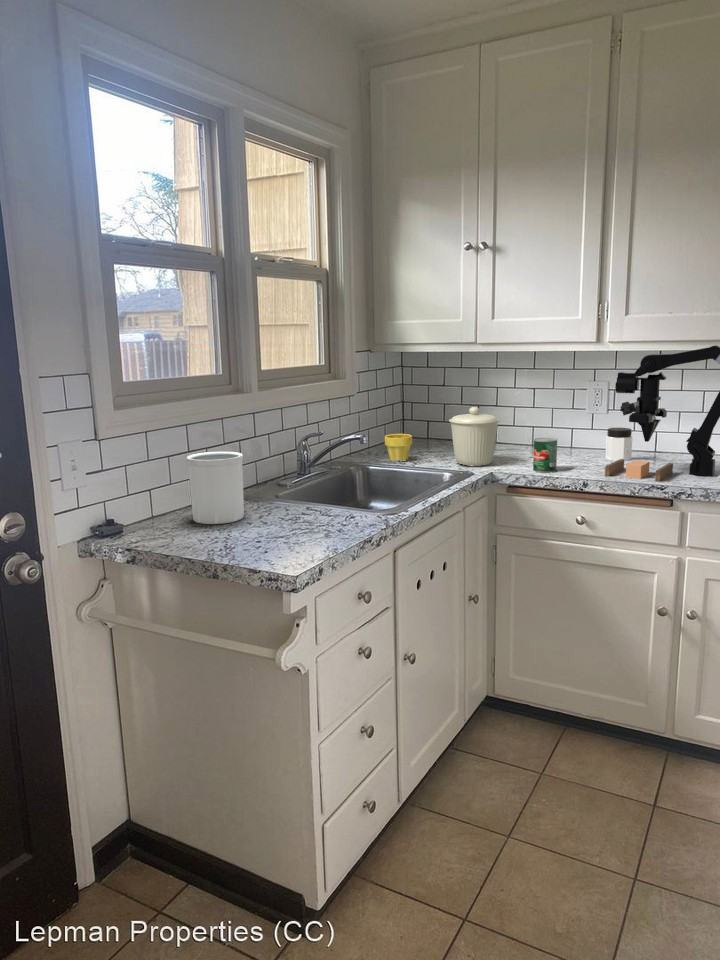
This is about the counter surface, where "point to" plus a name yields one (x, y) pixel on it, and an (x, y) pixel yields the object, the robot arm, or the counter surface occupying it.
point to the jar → (618, 444)
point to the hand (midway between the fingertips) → (646, 441)
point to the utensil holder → (216, 487)
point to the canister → (474, 437)
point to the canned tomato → (545, 455)
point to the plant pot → (398, 446)
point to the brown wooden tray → (619, 466)
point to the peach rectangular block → (637, 469)
